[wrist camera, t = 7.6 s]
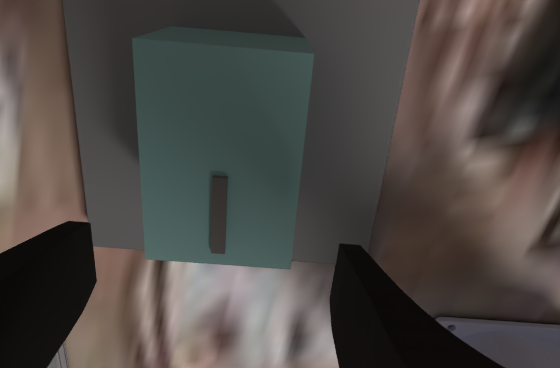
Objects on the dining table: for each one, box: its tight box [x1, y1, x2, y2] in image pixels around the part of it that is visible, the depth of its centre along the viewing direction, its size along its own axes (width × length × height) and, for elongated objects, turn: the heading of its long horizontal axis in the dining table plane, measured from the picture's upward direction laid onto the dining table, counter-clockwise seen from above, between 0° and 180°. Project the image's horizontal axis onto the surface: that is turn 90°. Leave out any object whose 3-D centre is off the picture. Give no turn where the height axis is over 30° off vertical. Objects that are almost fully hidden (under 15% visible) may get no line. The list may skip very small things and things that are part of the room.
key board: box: [62, 0, 419, 264], centre depth 18 cm, size 14×14×5 cm
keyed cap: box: [132, 26, 314, 269], centre depth 16 cm, size 5×8×5 cm
